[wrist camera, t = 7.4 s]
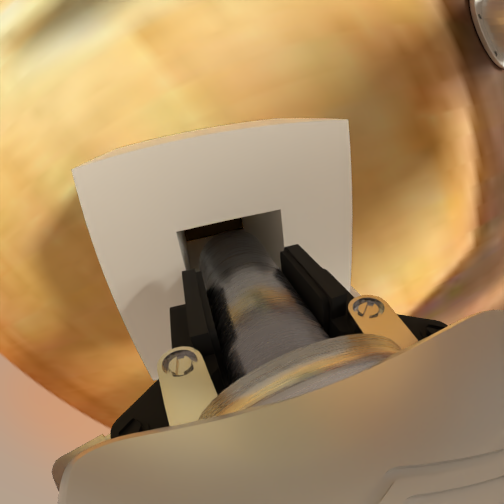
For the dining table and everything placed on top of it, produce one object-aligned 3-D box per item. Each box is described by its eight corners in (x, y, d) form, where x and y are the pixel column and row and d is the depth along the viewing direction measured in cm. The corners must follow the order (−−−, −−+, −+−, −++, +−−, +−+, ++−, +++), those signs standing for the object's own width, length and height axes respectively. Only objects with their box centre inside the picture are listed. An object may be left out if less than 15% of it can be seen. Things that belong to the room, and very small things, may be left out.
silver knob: (282, 193, 13) (461, 329, 4) (291, 294, 16) (399, 452, 7) (160, 220, 12) (159, 441, 3) (189, 321, 15) (230, 515, 6)
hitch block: (276, 118, 21) (348, 119, 12) (290, 258, 26) (347, 327, 17) (115, 149, 19) (71, 169, 10) (154, 291, 24) (153, 380, 15)
